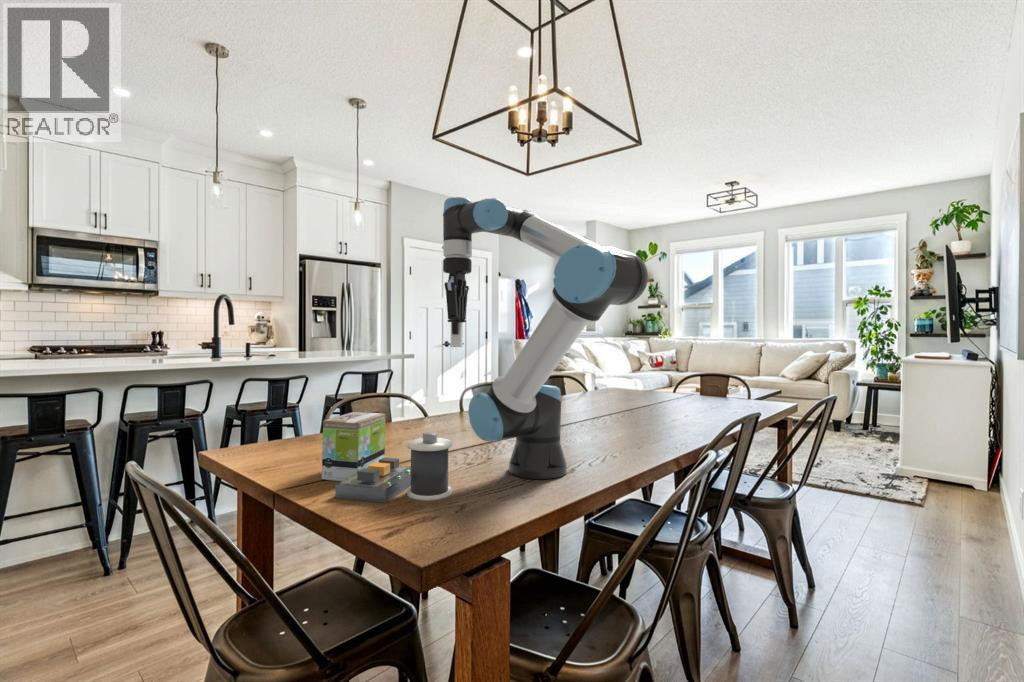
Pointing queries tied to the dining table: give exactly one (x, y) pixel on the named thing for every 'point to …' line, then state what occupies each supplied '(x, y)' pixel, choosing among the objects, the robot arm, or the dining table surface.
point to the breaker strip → (375, 486)
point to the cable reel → (429, 468)
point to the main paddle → (381, 468)
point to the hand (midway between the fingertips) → (456, 346)
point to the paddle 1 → (368, 475)
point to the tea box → (352, 444)
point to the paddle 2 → (390, 462)
